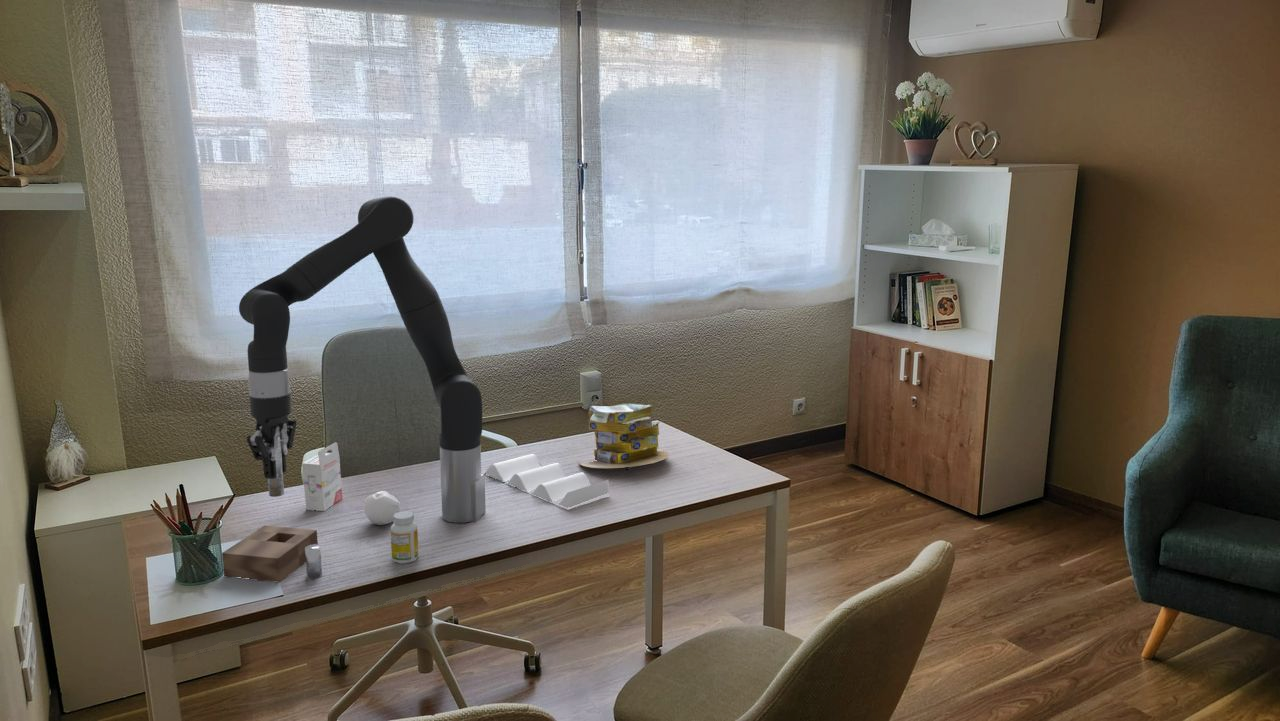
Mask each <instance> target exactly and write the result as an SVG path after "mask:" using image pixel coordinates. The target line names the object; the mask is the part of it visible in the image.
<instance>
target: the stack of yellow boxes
mask: <svg viewBox="0 0 1280 721" xmlns="http://www.w3.org/2000/svg"><path fill="white" fill-rule="evenodd" d="M587 413H588V420H587V421H588V422H587V423H588V430H589V431H593V432H594V438H595V439H594V440H595V447H596V449H593V451H594V452H593V454H594V456H595V460H597V461H593V462H589V463H583V464H580V466H583V467H587V468H591V469H619V468H621V469H622V468H626V467H629V468H633V467H639V466H645V465H649V464H655V463H658V462H661V461H663V460H665V459H667V458H668V457H670V453H669V452H668V451H665V450H664V449H663V450H662V449H660V448H659V435H660V428H659V424H660V421H658V422H657V423H653V422H652V421H653V420H652V414H653V413H652V405H651V404H647V405H645V404H642V403H641V404H640V403H634V402H632V403H631V402H630V403H625V402H623V403H622V404H615V405H609V406H604V405H601V406H599V405H592V406H590V408H589V409H588V411H587ZM657 449H658V450H657Z"/></svg>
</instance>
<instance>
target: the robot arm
mask: <svg viewBox="0 0 1280 721" xmlns="http://www.w3.org/2000/svg"><path fill="white" fill-rule="evenodd" d="M357 222H358V223H357V224H356V225H355V226H353V227H352V228H351V229H349V230H348V231H346V232H345V233H343V234H341V235H339V236H338V237H336V238H334V239H333V240H330V241H328V242H327V243H325V244H323V245H321V246H320V247H318V248H316V249H314V250H312V251H311V252H309V253H308V254H306V255H304V256H303V257H302V258H300V259H299V260H297V261H295V263H293V264H292V265H291V266H289V267H288V268H286V270H284V271H283V272H281V273H279V274H277V275H275V276H272V277H271V278H270V277H269V279H266V280H265V281H263V282H261V283H259V284H257V285H256V286H254V287H252V288H251V289H249V290H248V291H247V292H246V293H245V294H244V295H243V296H242V298H241V300H240V301H239V304H238V312H239V315H240V317H241V318H242V319H243V320H244V321H245V322H246V323H247V324H251V325H253V340H252V341H250V342H249V343H248V345H247V361H248V362H247V364H248V382H247V383H248V397H249V399H248V400H249V410H250V416H251V417H252V418H254V419H255V421H256V423H255V432H254V433H253V435H247V436H246V442H247V443H248V446H249V448H250V450H251V453H252V455H253V457H254V460H256V461H262V466H263V475H264V478H265V479H267V480H268V479H274V478H276V476H277V475H276V460H275V450H276V449H277V448H278V435H279V432H280V438H281V453H282V469H283V474H285V473H286V472H287V462H286V461H287V456H286V455H287V454H288V450H292V448H293V444H294V440H295V439H294V438H295V434H296V429H297V423H298V422H297V420H295V419H289V417H288V416H290V414H291V413H292V411H293V410H292V408H293V407H292V395H291V394H292V393H291V392H292V391H291V381H290V380H291V379H290V375H289V369H288V354H287V344H288V338H289V331H290V326H291V325H290V324H291V313H290V308H289V307H290V306H292V305H293V304H296V303H301V302H304V301H307V300H309V299H311V298H312V297H314V296H315V295H316V294H318V293H319V292H320V291H322V290H323V289H324V288H325V287H326V286H328V285H330V284H331V283H332V282H333V281H335V280H336V279H337V278H338V277H340V276H342V275H343V274H344V273H345V272H347V271H348V270H349V269H350V268H352V267H353V266H355V265H356V264H357V263H360V261H362V260H364V259H365V258H367V257H368V256H370V255H372V254H373V255H374V257H375V259H376V261H377V263H378V265H379V267H380V269H381V271H382V273H383V277H384V278H385V282H386V284H387V286H388V288H389V291H390V294H391V295H392V297H393V300H394V303H395V304H396V305H395V306H396V308H397V310H398V313H399V315H400V318H401V319H402V322H403V324H404V326H405V329H406V330H407V333H408V335H409V337H410V340H412V343H413V344H414V346H415V348H416V350H417V351H418V354H419V355H420V356H421V358H422V360H423V363H424V364H425V367H426V369H427V372H428V376H429V379H430V382H431V386H432V389H433V393H434V396H435V400H436V403H437V404H438V406H439V407H440V422H441V423H440V427H441V428H440V433H439V438H438V440H439V461H440V462H439V466H440V491H441V493H440V494H441V495H440V496H441V515H442V516H441V517H442V519H443V520H444V521H446V522H448V523H449V522H450V523H456V524H457V523H458V524H462V523H470V522H475V523H476V522H478V521H479V520H480V519H481V517H482V516H483V515H484V514H485V513H486V477H485V476H486V475H485V473H482V449H481V448H482V447H481V445H482V444H481V442H482V441H481V440H482V439H481V438H482V433H483V398H482V393H481V390H480V388H479V386H477V385H476V383H475V382H474V381H473V380H472V379H471V378H470V376H469V375H468V373H467V372H466V370H465V368H464V366H463V364H462V363H461V361H460V358H459V356H458V354H457V352H456V349H455V346H454V343H453V337H452V336H453V335H452V331H451V326H450V323H449V319H448V316H447V313H446V310H445V307H444V305H443V303H442V300H441V298H440V295H439V292H438V291H437V289H436V287H435V286H434V285H433V283H432V281H430V279H429V278H428V277H427V275H426V274H425V273H424V271H423V270H422V269H421V268H420V267H419V266H418V264H417V262H415V260H414V259H413V257H412V256H411V253H410V252H409V249H408V247H407V244H406V242H405V240H404V238H405V237H406V236H407V235H408V234H409V232H410V231H411V229H412V227H413V224H414V213H413V210H412V208H411V206H410V205H409V203H408V202H406V201H405V200H404V199H402V198H400V197H396V196H382V197H378V198H377V197H376V198H373V199H369V200H367V201H365V202H364V203H363V204H362V205H361V206H360V208H359V210H358V213H357ZM266 443H272V445H267V444H266ZM267 449H269V450H270V455H269V454H268V451H267Z"/></svg>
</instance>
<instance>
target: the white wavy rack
mask: <svg viewBox="0 0 1280 721" xmlns="http://www.w3.org/2000/svg"><path fill="white" fill-rule="evenodd" d="M485 474H487V475H489V476H492V477H494V478H496V479H499V480H501V481H507V480H510V481H509V482H507V483H508V484H511V485H513V486H515V487H517V488H520V489H522V490H525V491H527V492H530V491H531V490H533V489H535V490H534V492H533V493H531V494H534V495H536V496H539V497H541V498H543V499H546V500H548V501H551V502H554V501H557V500H559V499H562V498H563V499H562V500H561V502H559V503H558V504H559V505H562V506H564V507H567V508H568V507H572V506H574V505H577V504H580V503H582V502H585V501H588V500H590V499H593V498H596V497H598V496H601V495H604V494H607V493H609V492H610V491H609V489H610V488H609V486H610V485H609V483H610V482H609V481H610V479H606V480H603V481H600V482H597V483H593V484H591V483H590V480H589V478H588V476H587V475H586V473H584V472H582V471H581V472H578V473H574V474H571V475H567V476H566V474H565V472H564V470H563V469H562V466H561V464H560V463H558V462H555V463H549V464H547V465H544V466H543V465H542V464H541V463H540V461H539V459H538V457H537V455H536V454H535V453H529V454H525V455H522V456H519V457H515V458H511V459H507V460H504V461H500V462H495V463H492V464H490V465H489V467H488V468H487V469H486V471H485V473H484V475H485ZM487 475H486V476H487ZM489 476H488V477H489ZM494 478H493V479H494ZM496 479H495V480H496ZM501 481H500V482H501ZM508 484H507V485H508ZM515 487H514V488H515ZM517 488H516V489H517ZM522 490H521V491H522ZM531 494H530V495H531Z"/></svg>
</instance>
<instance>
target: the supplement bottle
mask: <svg viewBox="0 0 1280 721" xmlns="http://www.w3.org/2000/svg"><path fill="white" fill-rule="evenodd" d="M393 519H394V520H393V521H392V522H393V524H392V525H391V526H390V545H391V546H390V547H391V548H390V549H391V560H392V561H393V562H394V563H396V562H397V563H396V564H409V562H410V563H412V561H413V562H414V561H416V560H417V559H418V557H419V537H418V532H419V531H418V524H417V523H416V522H414V520H415V517H414V513H413V512H411V511H409V510H408V511H407V510H405V511H402V510H401V511H399V512H397V513H395V514H394V516H393Z"/></svg>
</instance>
